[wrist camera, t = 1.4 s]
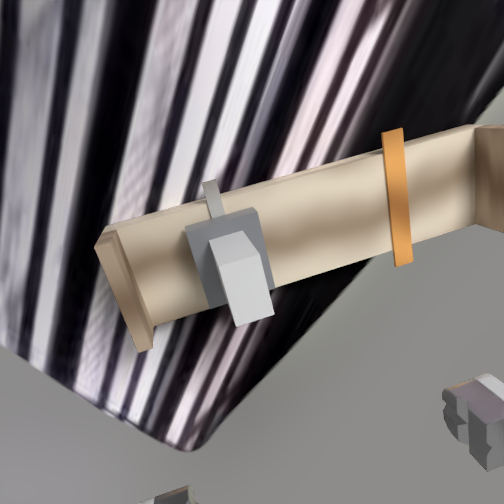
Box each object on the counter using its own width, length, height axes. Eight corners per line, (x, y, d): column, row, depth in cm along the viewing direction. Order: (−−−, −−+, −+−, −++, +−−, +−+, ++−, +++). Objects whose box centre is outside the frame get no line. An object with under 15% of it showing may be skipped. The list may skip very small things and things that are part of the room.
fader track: (98, 206, 27) (84, 224, 22) (466, 105, 31) (519, 102, 26) (148, 333, 31) (145, 370, 26) (468, 230, 35) (515, 247, 30)
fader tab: (184, 226, 26) (190, 257, 20) (252, 206, 27) (278, 231, 21) (207, 300, 28) (219, 347, 22) (270, 280, 29) (297, 321, 23)
